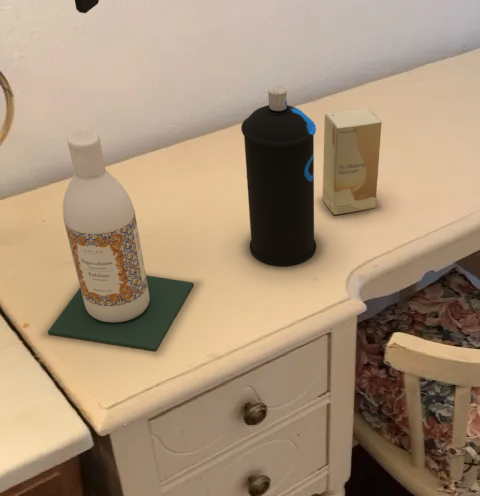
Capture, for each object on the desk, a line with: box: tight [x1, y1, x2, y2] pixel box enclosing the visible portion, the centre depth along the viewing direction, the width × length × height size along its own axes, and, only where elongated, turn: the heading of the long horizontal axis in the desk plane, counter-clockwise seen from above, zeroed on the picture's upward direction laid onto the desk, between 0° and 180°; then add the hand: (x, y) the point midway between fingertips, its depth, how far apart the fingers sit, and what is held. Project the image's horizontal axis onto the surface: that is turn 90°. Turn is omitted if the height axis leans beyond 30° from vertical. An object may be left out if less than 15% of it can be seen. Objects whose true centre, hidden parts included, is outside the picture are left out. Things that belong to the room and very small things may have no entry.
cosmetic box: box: [322, 107, 382, 215], centre depth 107 cm, size 6×4×12 cm
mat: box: [47, 274, 195, 352], centre depth 93 cm, size 12×12×1 cm
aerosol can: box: [240, 85, 317, 267], centre depth 96 cm, size 8×8×20 cm
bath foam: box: [62, 130, 150, 323], centre depth 86 cm, size 7×7×20 cm
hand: (37, 0), depth 75 cm, fingers open, 9 cm apart
